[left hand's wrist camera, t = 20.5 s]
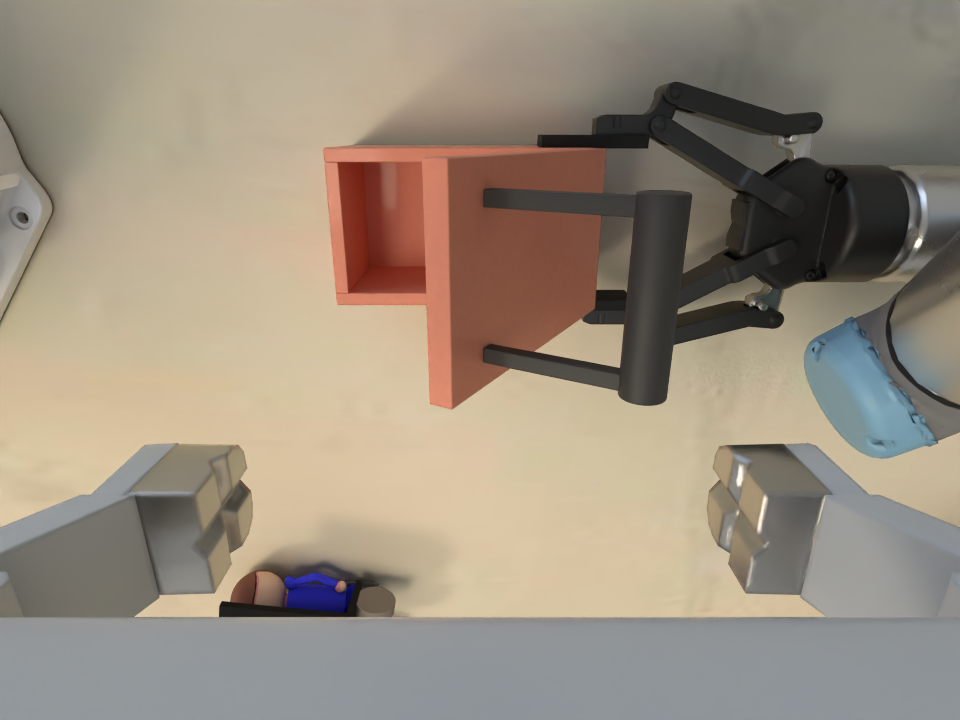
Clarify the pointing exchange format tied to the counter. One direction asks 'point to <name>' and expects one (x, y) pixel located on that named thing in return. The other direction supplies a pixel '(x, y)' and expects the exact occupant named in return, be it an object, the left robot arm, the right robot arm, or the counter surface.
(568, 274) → the lid
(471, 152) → the chest
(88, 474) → the counter surface
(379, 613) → the figurine character
